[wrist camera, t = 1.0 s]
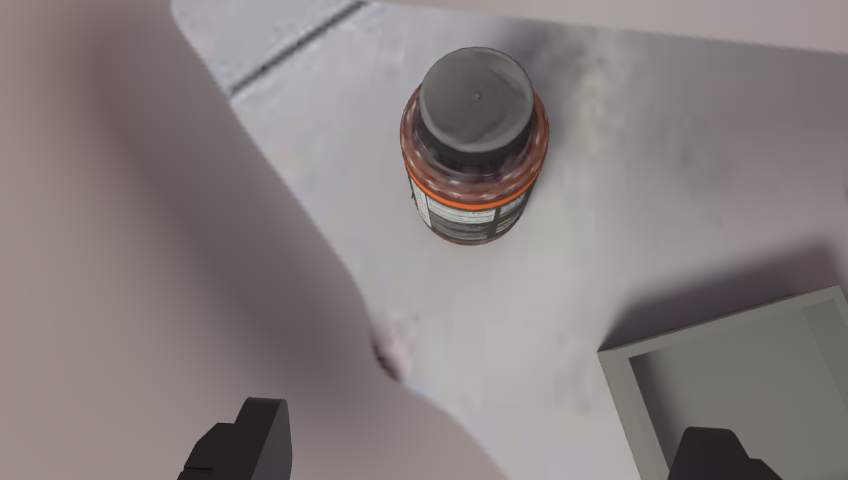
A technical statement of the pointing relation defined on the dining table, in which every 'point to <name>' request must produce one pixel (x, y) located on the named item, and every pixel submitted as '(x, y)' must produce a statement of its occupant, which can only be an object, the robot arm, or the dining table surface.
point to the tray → (742, 386)
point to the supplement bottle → (473, 144)
